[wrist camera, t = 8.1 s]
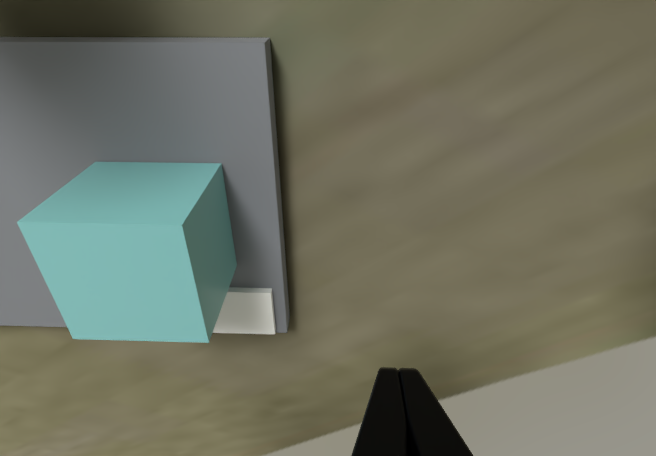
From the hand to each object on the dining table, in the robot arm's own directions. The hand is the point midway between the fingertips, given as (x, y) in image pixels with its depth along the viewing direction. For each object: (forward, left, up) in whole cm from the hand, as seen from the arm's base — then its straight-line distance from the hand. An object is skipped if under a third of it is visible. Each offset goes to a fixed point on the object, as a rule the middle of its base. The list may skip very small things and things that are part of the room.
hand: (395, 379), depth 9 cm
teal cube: (+8, 0, -7) cm, 10 cm away
